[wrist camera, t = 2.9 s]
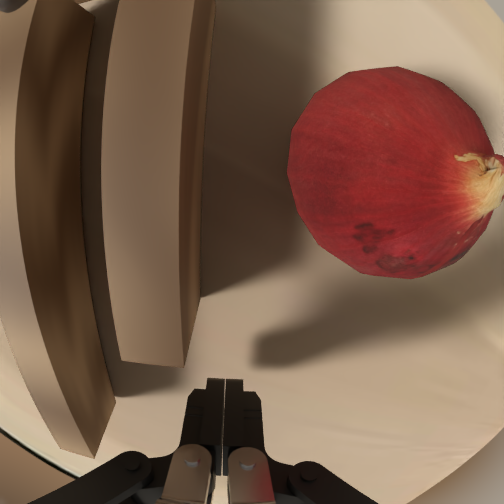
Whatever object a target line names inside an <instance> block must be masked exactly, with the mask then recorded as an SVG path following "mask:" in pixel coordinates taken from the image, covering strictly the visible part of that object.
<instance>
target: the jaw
mask: <svg viewBox="0 0 504 504" xmlns="http://www.w3.org/2000/svg"><path fill="white" fill-rule="evenodd" d="M94 21H95V17H94V16H93V15H92V14H90V13H89V12H88V11H86V10H85V9H84V8H83V7H81V6H80V5H79V4H77V3H76V2H75V1H73V0H0V318H1V322H2V325H3V328H4V331H5V334H6V337H7V339H8V342H9V345H10V348H11V350H12V353H13V355H14V358H15V360H16V363H17V365H18V368H19V370H20V373H21V375H22V377H23V379H24V382H25V384H26V386H27V388H28V390H29V392H30V395H31V397H32V399H33V401H34V403H35V405H36V407H37V409H38V411H39V412H40V414H41V416H42V418H43V420H44V422H45V424H46V425H47V427H48V429H49V431H50V432H51V434H52V436H53V438H54V439H55V441H56V442H57V444H58V446H59V447H60V449H63V450H66V451H69V452H73V453H76V454H79V455H82V456H86V457H90V458H93V459H95V456H96V453H97V450H98V448H99V445H100V442H101V440H102V437H103V434H104V432H105V429H106V427H107V424H108V421H109V419H110V416H111V414H112V411H113V409H114V406H115V404H116V400H115V397H114V394H113V390H112V387H111V383H110V380H109V376H108V372H107V368H106V365H105V361H104V357H103V352H102V348H101V344H100V339H99V335H98V330H97V325H96V320H95V315H94V310H93V304H92V298H91V292H90V286H89V279H88V272H87V264H86V256H85V247H84V237H83V225H82V209H81V186H80V143H81V120H82V105H83V94H84V84H85V75H86V67H87V60H88V54H89V47H90V41H91V36H92V31H93V26H94Z"/></svg>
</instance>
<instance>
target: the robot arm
mask: <svg viewBox="0 0 504 504" xmlns="http://www.w3.org/2000/svg"><path fill="white" fill-rule="evenodd" d="M224 389H225V379H219V378H207V385H206V389H194V390H193V391H192V393H191V394H190V395H189V396H188V400H187V406H186V411H185V417H184V422H183V428H182V434H181V440H180V444H179V446H178V448H177V449H176V450H175V451H174V452H173V453H172V454H170V455H167V456H163V457H157V458H148V457H147V456H146V455H144V454H143V453H140V452H137V451H127V452H123V453H121V454H120V455H118V456H116V457H115V458H113V459H111V460H110V461H108V462H106V463H104V464H103V465H101V466H99V467H97V468H96V469H94V470H92V471H90V472H89V473H87V474H85V475H83V476H81V477H80V478H78V479H76V480H74V481H72V482H70V483H68V484H67V485H65V486H63V487H61V488H59V489H57V490H55V491H53V492H51V493H49V494H47V495H45V496H43V497H41V498H38V499H36V500H34V501H32V502H30V503H28V504H212V500H213V494H214V489H215V480H216V475H219V476H221V466H222V444H223V476H228V484H227V487H228V488H227V494H228V504H378V503H377V502H375V501H374V500H372V499H370V498H369V497H367V496H366V495H364V494H363V493H361V492H359V491H358V490H356V489H355V488H353V487H352V486H350V485H349V484H348V483H346V482H345V481H343V480H342V479H340V478H339V477H337V476H336V475H335V474H333V473H332V472H330V471H329V470H328V469H326V468H325V467H323V466H322V465H320V464H319V463H316V462H312V461H304V462H300V463H298V464H296V465H294V466H292V465H288V464H283V463H279V462H277V461H275V460H273V459H272V458H270V457H269V456H268V454H267V453H266V451H265V447H264V436H263V422H262V409H261V400H260V398H259V397H258V395H257V394H256V392H249V391H243V380H242V379H226V389H225V408H224ZM223 423H224V428H223Z"/></svg>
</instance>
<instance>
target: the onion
mask: <svg viewBox="0 0 504 504" xmlns="http://www.w3.org/2000/svg"><path fill="white" fill-rule="evenodd" d="M287 175H288V179H289V183H290V186H291V190H292V193H293V197H294V201H295V205H296V208H297V212H298V214H299V215H300V217H301V218H302V220H303V222H304V223H305V225H306V226H307V228H308V229H309V231H310V232H311V234H312V235H313V237H314V239H315V240H316V242H317V243H318V245H320V246H321V247H322V248H324V249H325V250H327V251H328V252H329V253H331V254H332V255H334V256H335V257H337V258H339V259H340V260H342V261H343V262H345V263H346V264H348V265H349V266H351V267H352V268H354V269H355V270H357V271H358V272H360V273H363V274H368V275H373V276H383V277H393V278H404V279H413V278H418V277H423V276H425V275H428V274H430V273H432V272H435V271H437V270H440V269H442V268H444V267H447V266H449V265H452V264H454V263H455V262H457V261H458V260H459V259H461V258H462V257H463V256H464V255H465V254H466V253H467V252H468V251H469V250H470V248H471V247H472V246H473V245H474V243H475V242H476V241H477V240H478V238H479V237H480V236H481V235H482V233H483V232H484V231H485V229H486V228H487V225H488V223H489V220H490V218H491V215H492V213H493V210H494V209H495V208H497V207H498V206H499V205H500V204H501V202H502V200H503V198H504V157H503V156H502V155H498V154H494V150H493V148H492V145H491V143H490V140H489V138H488V136H487V134H486V132H485V129H484V127H483V125H482V123H481V121H480V119H479V117H478V116H477V114H476V113H475V111H474V110H473V109H472V108H471V107H470V106H469V105H468V104H467V103H466V102H464V101H463V100H462V99H461V98H460V97H459V96H458V95H457V94H456V93H455V92H453V91H452V90H451V89H450V88H449V87H447V86H446V85H445V84H443V83H442V82H440V81H438V80H435V79H433V78H430V77H427V76H425V75H422V74H419V73H416V72H413V71H410V70H407V69H404V68H401V67H398V66H396V67H385V68H376V69H368V70H360V71H353V72H348V73H346V74H345V75H343V76H341V77H340V78H338V79H337V80H335V81H333V82H332V83H330V84H329V85H327V86H326V87H324V88H322V89H321V90H319V91H318V92H316V93H315V94H314V95H313V97H312V99H311V100H310V102H309V103H308V105H307V106H306V108H305V109H304V111H303V113H302V114H301V116H300V117H299V119H298V120H297V122H296V124H295V125H294V127H293V128H292V131H291V140H290V149H289V158H288V167H287Z"/></svg>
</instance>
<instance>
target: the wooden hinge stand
mask: <svg viewBox="0 0 504 504" xmlns="http://www.w3.org/2000/svg"><path fill="white" fill-rule="evenodd" d="M73 1H75V2H76V3H77V4H79V3H83V2H86V1H90V0H73ZM215 11H216V5H215V0H119V4H118V8H117V13H116V18H115V23H114V29H113V34H112V40H111V46H110V53H109V60H108V68H107V76H106V85H105V96H104V108H103V124H102V149H101V191H102V217H103V233H104V246H105V257H106V267H107V276H108V284H109V292H110V299H111V306H112V312H113V318H114V324H115V330H116V336H117V341H118V346H119V351H120V356H121V360H122V361H128V362H136V363H143V364H152V365H160V366H170V367H180V368H184V366H185V362H186V357H187V353H188V348H189V344H190V340H191V335H192V331H193V327H194V323H195V319H196V314H197V310H198V306H199V302H200V247H201V202H202V175H203V153H204V135H205V119H206V105H207V91H208V79H209V68H210V57H211V47H212V37H213V28H214V19H215Z"/></svg>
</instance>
